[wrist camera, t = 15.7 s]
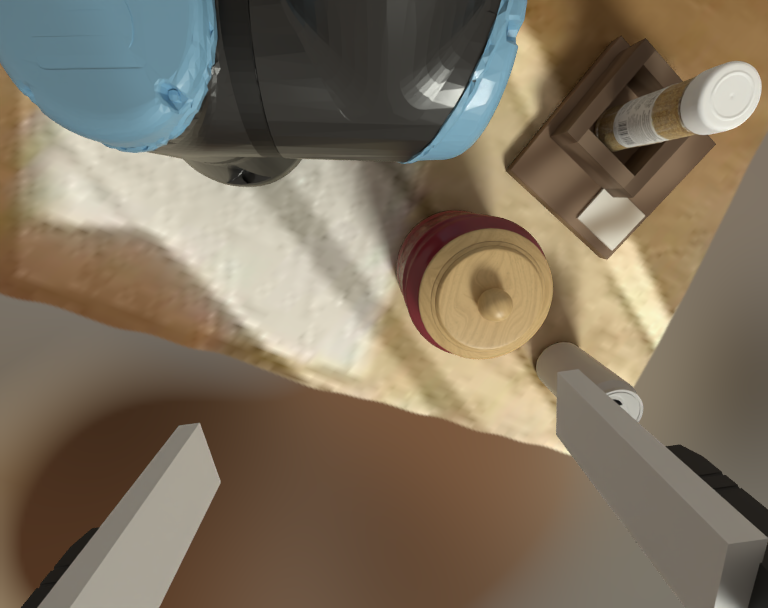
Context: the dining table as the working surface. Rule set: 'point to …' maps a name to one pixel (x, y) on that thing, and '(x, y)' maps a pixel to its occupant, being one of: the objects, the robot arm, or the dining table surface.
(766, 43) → the dining table surface
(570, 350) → the beverage can
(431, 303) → the canister
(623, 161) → the spice caddy
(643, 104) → the sprinkles bottle
